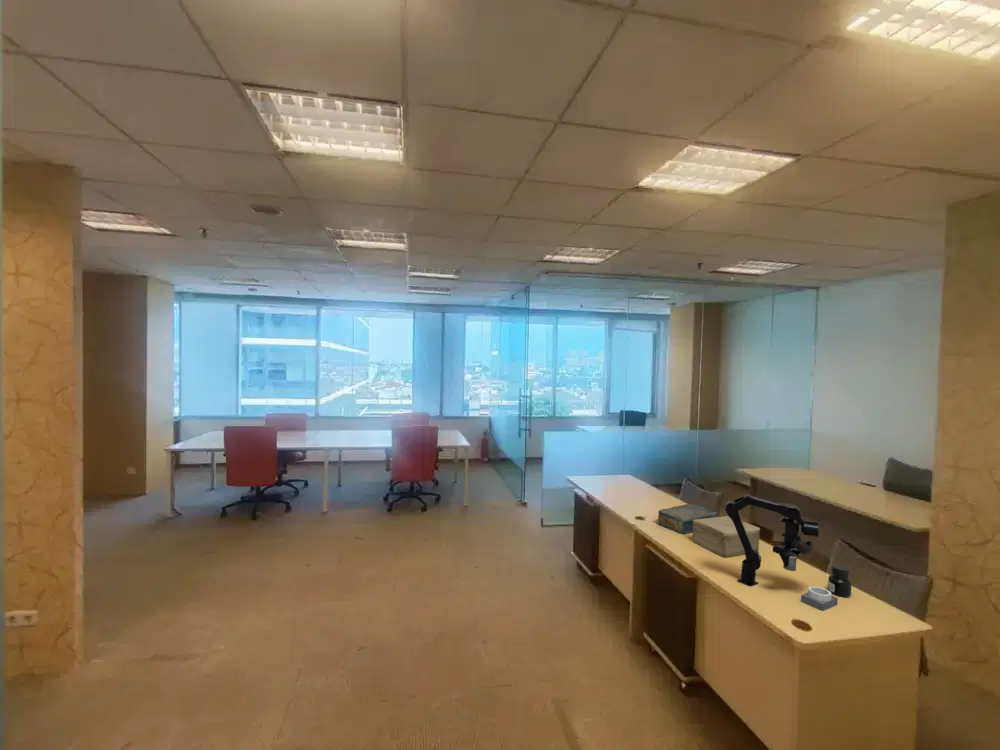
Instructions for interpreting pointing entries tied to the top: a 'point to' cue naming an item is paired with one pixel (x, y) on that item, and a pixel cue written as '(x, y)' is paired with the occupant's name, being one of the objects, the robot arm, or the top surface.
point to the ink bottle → (840, 581)
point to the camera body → (819, 598)
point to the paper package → (723, 535)
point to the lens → (791, 562)
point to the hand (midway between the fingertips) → (789, 565)
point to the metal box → (683, 517)
